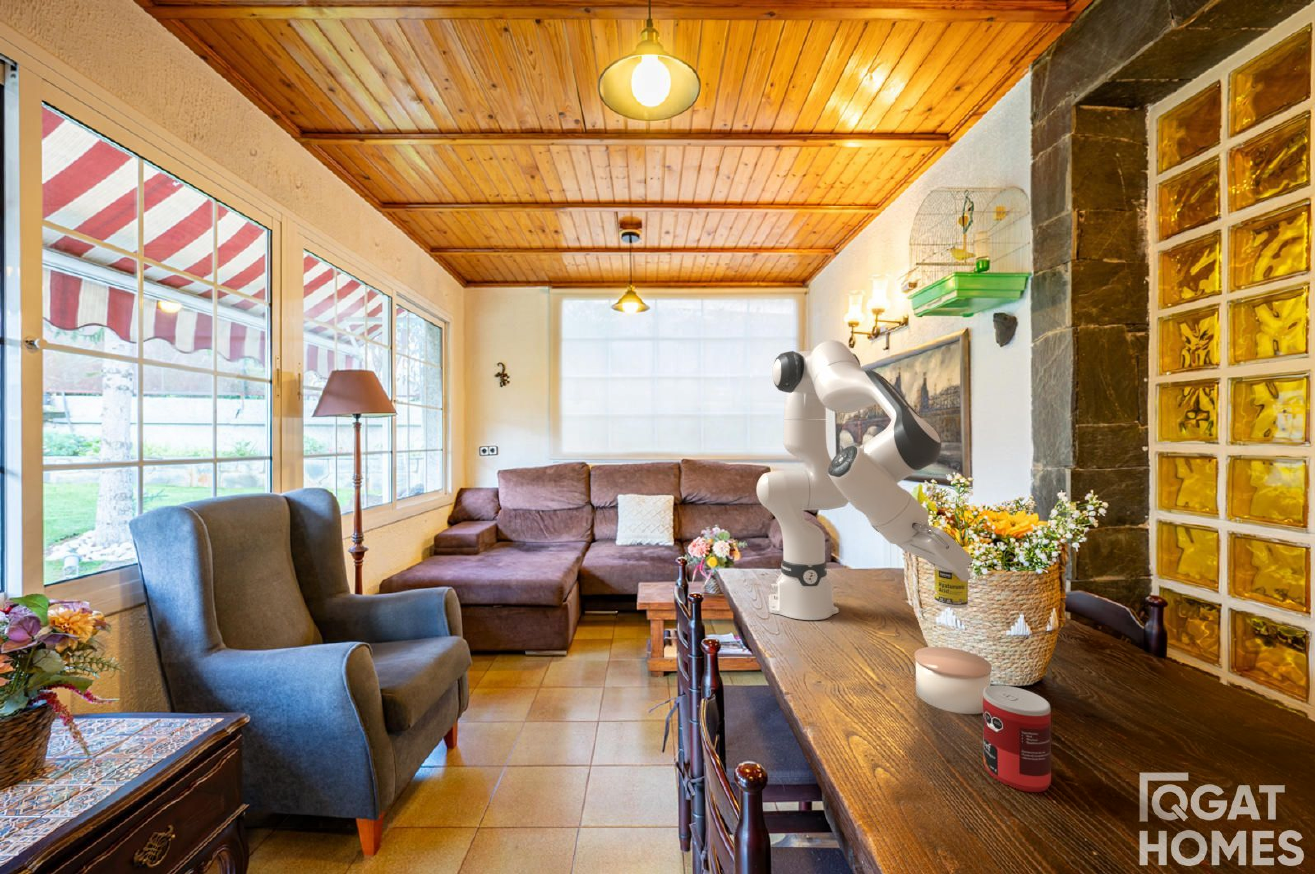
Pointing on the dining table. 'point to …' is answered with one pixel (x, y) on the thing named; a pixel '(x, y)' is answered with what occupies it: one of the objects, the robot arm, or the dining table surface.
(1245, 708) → the dining table surface
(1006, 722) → the canned food
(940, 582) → the supplement bottle
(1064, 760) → the dining table surface
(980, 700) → the ceramic canister
